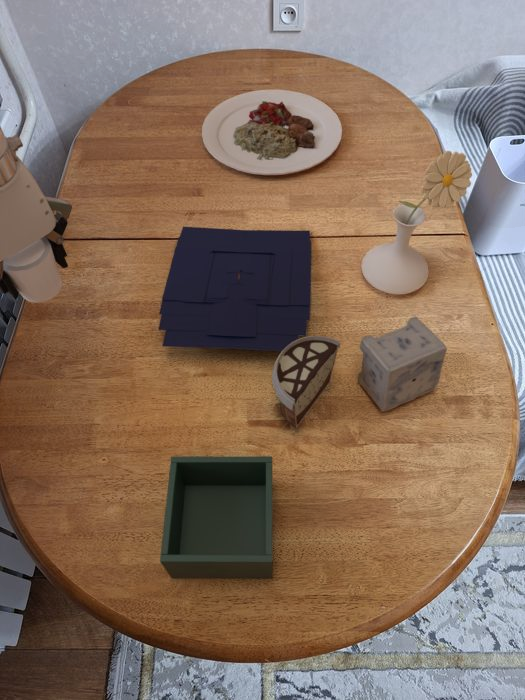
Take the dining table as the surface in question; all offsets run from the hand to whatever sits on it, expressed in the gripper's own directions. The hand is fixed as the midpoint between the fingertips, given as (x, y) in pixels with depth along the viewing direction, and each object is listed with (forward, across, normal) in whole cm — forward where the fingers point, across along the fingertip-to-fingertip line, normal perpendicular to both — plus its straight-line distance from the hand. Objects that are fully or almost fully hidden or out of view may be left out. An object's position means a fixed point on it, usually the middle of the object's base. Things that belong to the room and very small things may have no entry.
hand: (36, 276), depth 74 cm
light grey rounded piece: (+2, 0, 0) cm, 2 cm away
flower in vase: (+17, -49, +27) cm, 59 cm away
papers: (+17, -27, +10) cm, 34 cm away
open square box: (+17, +2, +38) cm, 42 cm away
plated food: (+17, -62, -16) cm, 66 cm away
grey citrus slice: (+17, -19, +31) cm, 40 cm away
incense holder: (+17, -31, +40) cm, 54 cm away
